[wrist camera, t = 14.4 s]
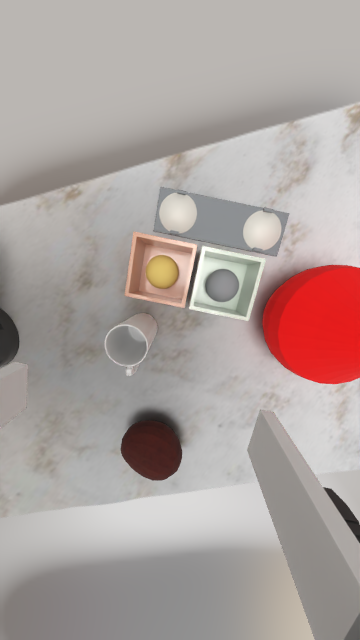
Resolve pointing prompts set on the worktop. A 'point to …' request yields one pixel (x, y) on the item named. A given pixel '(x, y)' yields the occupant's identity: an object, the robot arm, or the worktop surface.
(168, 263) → the ball mustard
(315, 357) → the vase
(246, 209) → the slate card
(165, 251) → the salmon open box
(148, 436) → the potato
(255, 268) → the sage open box
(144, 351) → the mug
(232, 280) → the ball grey
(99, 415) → the worktop surface
